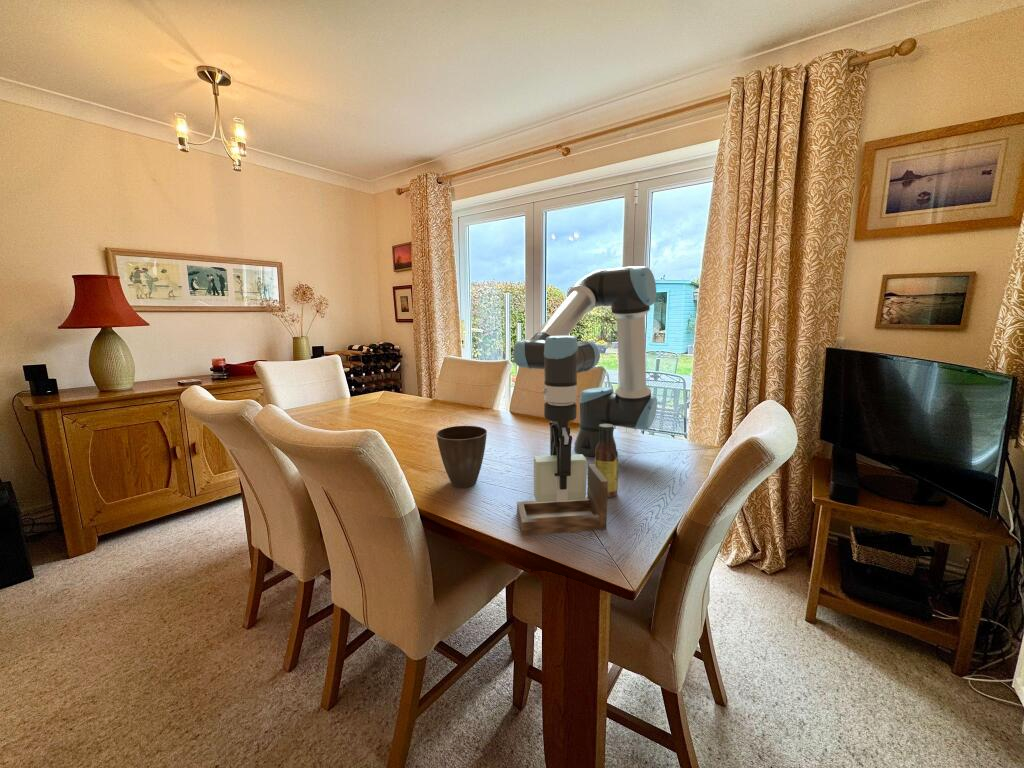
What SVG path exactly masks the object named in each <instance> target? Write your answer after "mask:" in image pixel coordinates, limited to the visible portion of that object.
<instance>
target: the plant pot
mask: <svg viewBox="0 0 1024 768" xmlns="http://www.w3.org/2000/svg"><path fill="white" fill-rule="evenodd" d="M487 433H488V431H487V429H486V428H484V427H481V426H477V425H455V426H449V427H445V428H442V429H439V430H438V431H437V432H436V434H435V435H436V440H437V445H438V450H439V454H440V457H441V461H442V464H443V466H444V469H445V472H446V475H447V476H448V477H447V478H449V481H450V483H451V485H452V486H453V487H455V488H458V489H459V488H461V489H462V488H464V489H465V488H469V487H473V486H474V485H476V484H477V481H478V478H479V476H480V472H481V468H482V465H483V461H484V455H485V450H486V443H487Z"/></svg>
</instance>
